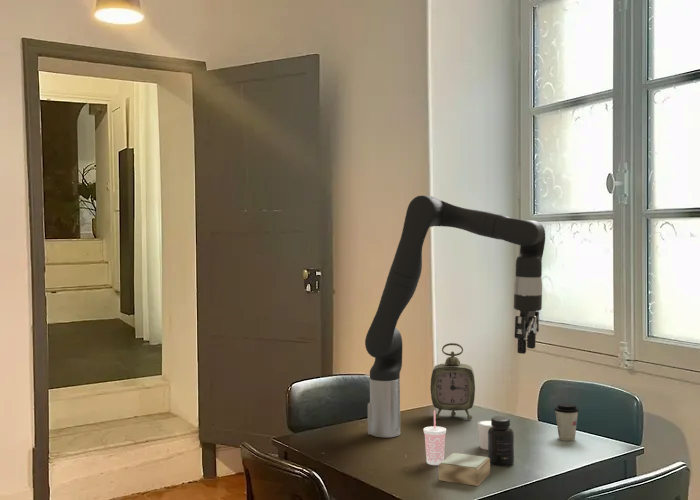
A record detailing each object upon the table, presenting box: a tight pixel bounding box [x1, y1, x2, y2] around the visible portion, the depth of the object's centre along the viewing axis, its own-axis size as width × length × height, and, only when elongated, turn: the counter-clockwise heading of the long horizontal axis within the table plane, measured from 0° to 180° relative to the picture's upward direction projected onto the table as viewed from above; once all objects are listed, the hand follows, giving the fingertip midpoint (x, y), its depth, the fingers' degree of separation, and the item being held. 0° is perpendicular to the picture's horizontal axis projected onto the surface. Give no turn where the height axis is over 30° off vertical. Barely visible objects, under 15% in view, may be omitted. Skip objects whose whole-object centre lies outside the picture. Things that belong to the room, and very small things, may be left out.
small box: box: [438, 452, 491, 487], centre depth 182 cm, size 10×10×4 cm
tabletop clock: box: [430, 342, 476, 421], centre depth 242 cm, size 14×9×25 cm, turn 81°
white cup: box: [477, 419, 492, 451], centre depth 208 cm, size 7×7×7 cm
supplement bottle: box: [487, 415, 515, 467], centre depth 193 cm, size 7×7×12 cm
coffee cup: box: [553, 402, 580, 442], centre depth 216 cm, size 7×7×10 cm
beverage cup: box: [422, 410, 447, 466], centre depth 194 cm, size 6×6×14 cm
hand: (526, 350), depth 202 cm, fingers open, 8 cm apart
